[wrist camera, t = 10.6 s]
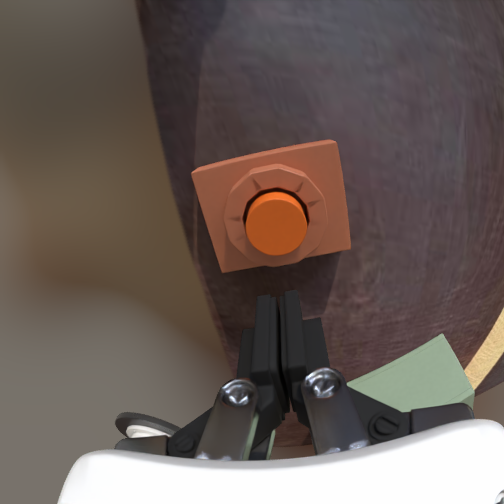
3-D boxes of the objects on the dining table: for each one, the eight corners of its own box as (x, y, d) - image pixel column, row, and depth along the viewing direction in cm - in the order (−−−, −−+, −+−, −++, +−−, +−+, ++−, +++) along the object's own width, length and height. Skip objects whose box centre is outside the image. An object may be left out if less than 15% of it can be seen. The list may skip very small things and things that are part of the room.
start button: (254, 248, 19) (253, 261, 17) (241, 197, 17) (238, 205, 16) (308, 238, 18) (311, 250, 17) (298, 186, 17) (301, 193, 15)
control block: (225, 260, 23) (218, 286, 20) (197, 167, 20) (182, 178, 16) (344, 237, 22) (357, 261, 18) (330, 139, 18) (343, 143, 15)
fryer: (365, 419, 35) (375, 470, 26) (337, 386, 31) (348, 452, 22) (448, 378, 30) (469, 426, 22) (442, 332, 26) (474, 392, 18)
